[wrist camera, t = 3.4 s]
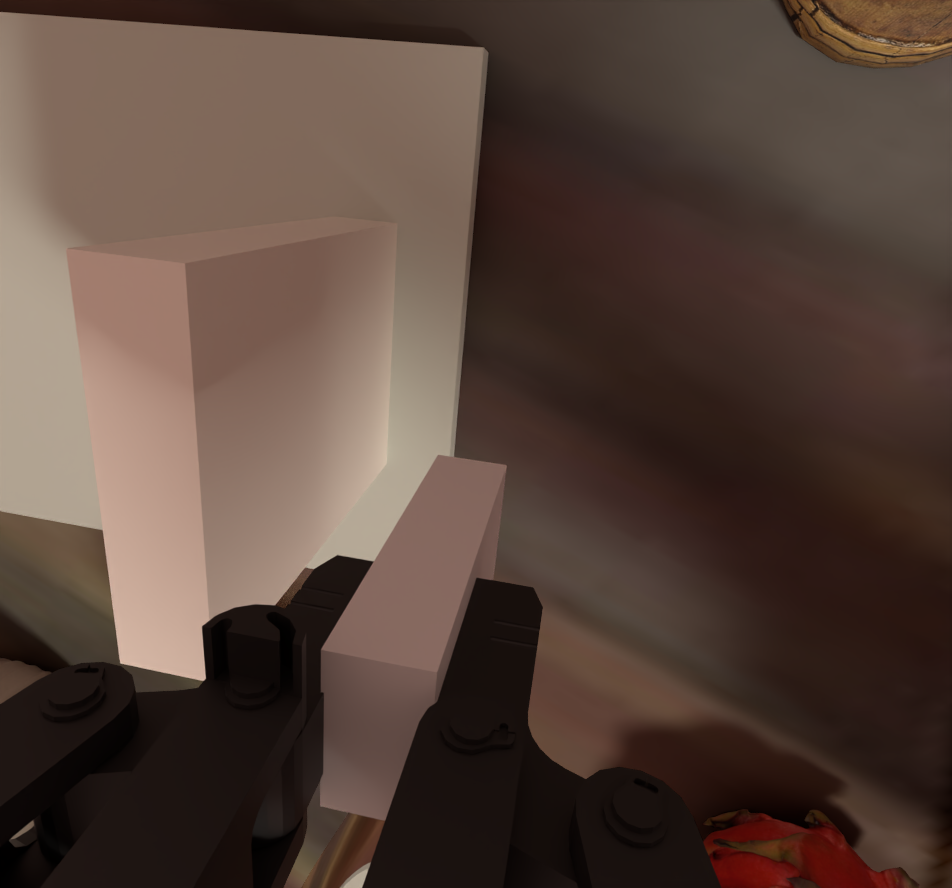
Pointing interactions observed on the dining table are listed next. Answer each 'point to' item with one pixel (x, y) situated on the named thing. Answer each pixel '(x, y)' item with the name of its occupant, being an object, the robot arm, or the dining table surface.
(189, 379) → the pale pink rectangular block
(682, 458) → the dining table surface
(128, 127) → the mat
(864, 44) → the wooden mug
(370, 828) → the beer glass
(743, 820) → the dragon fruit
